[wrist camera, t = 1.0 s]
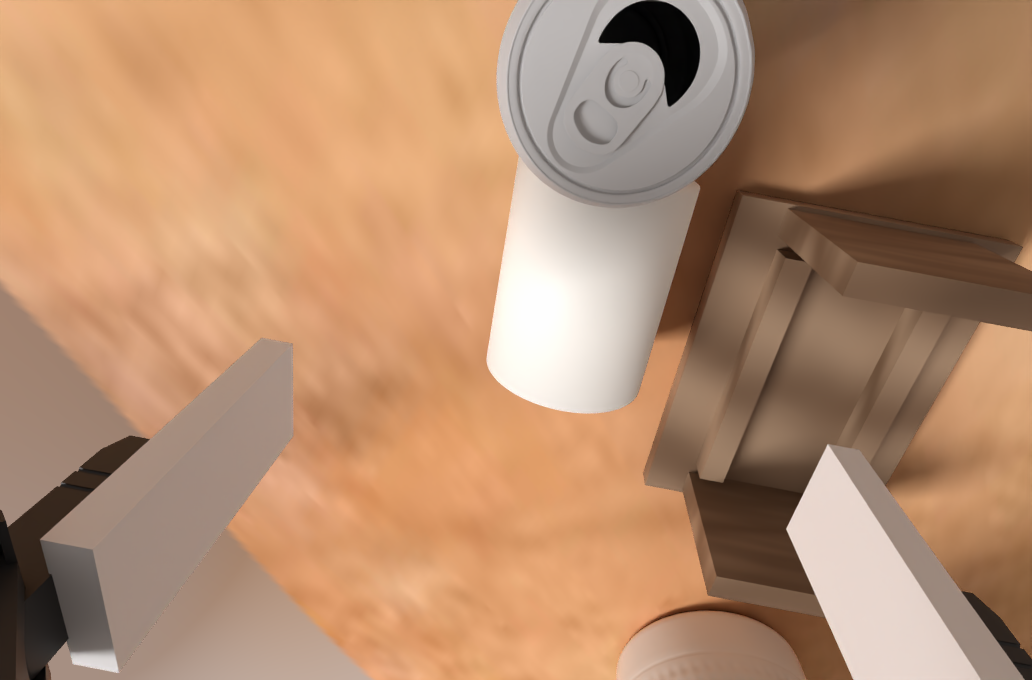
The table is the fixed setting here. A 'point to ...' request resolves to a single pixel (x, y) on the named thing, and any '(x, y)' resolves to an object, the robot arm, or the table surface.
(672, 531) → the table surface
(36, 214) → the table surface
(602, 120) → the beverage can
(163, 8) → the table surface
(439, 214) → the table surface
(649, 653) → the lamp
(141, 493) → the robot arm
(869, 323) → the holder
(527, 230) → the cylinder
